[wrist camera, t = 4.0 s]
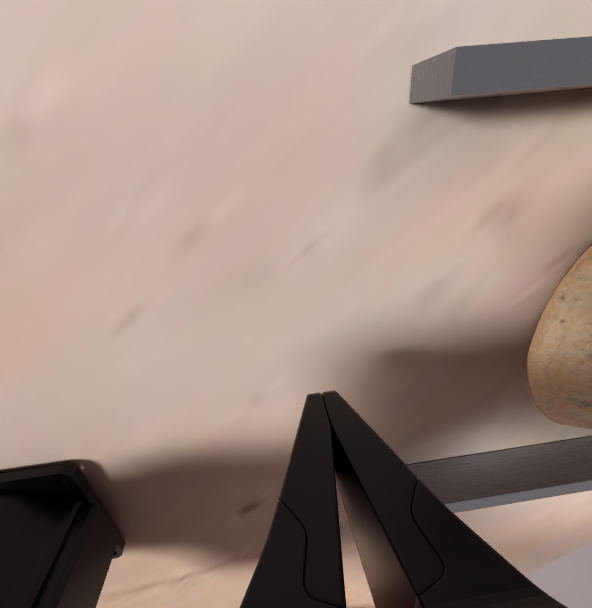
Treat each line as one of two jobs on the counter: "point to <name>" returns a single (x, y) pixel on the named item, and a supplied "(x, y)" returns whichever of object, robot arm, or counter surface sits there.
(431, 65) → the steel chute
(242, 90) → the counter surface
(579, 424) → the pottery oil lamp
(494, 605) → the robot arm
